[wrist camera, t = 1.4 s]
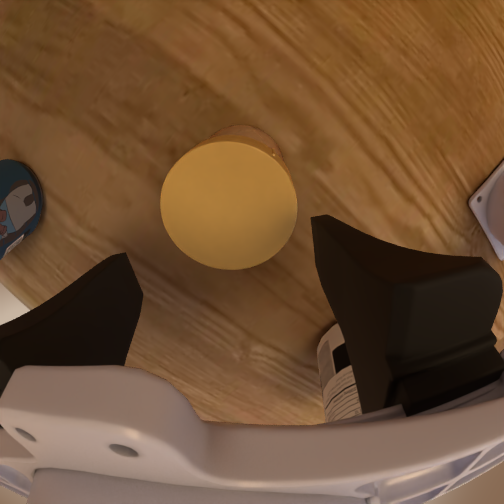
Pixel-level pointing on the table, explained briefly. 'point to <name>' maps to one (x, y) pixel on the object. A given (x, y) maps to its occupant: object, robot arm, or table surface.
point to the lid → (229, 202)
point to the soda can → (17, 204)
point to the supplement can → (337, 377)
